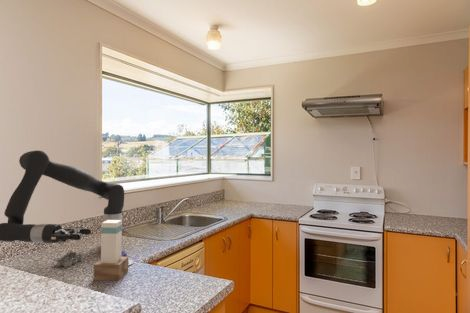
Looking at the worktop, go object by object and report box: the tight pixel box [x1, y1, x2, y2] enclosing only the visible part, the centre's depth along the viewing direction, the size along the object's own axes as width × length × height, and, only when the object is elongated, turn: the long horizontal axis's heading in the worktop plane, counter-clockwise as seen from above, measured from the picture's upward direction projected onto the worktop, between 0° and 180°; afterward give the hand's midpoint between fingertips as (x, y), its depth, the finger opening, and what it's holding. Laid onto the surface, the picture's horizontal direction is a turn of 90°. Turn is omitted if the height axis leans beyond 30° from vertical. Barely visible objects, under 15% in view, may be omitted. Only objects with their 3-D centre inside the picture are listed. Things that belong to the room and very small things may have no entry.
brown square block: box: [93, 256, 129, 281], centre depth 127 cm, size 10×10×6 cm
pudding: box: [121, 251, 134, 266], centre depth 140 cm, size 12×12×5 cm
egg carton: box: [55, 250, 85, 268], centre depth 140 cm, size 11×8×4 cm
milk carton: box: [100, 219, 123, 263], centre depth 127 cm, size 6×6×16 cm
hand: (85, 234), depth 127 cm, fingers open, 8 cm apart
